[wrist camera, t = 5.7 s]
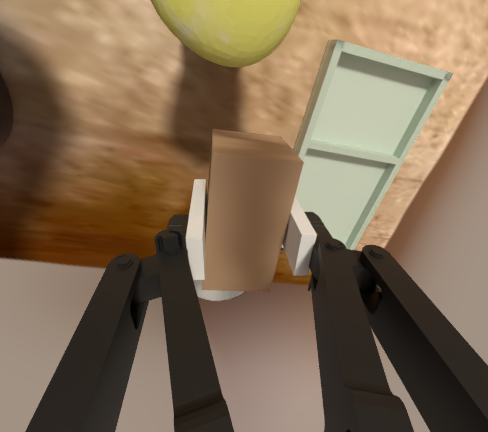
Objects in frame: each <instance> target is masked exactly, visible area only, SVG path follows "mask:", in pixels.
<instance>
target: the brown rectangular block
mask: <svg viewBox="0 0 488 432" xmlns="http://www.w3.org/2000/svg"><path fill="white" fill-rule="evenodd" d="M303 164H304V162H303V161H302V160H301V159H300V157H299V156H298V155H297V154H296V153H295V152H294V151H293V150H292V148H291V147H290V146H289V145H288V144H287V143H286V142H285V141H284V139H283V138H282V137H279V136H271V135H262V134H254V133H246V132H237V131H229V130H220V129H212V142H211V155H210V169H209V182H208V196H207V215H206V237H205V248H206V260H205V280H202V290H218V291H270V289H271V285H272V281H273V277H274V273H275V270H276V266H277V262H278V258H279V255H280V251H281V247H282V243H283V239H284V236H285V232H286V228H287V224H288V221H289V217H290V213H291V209H292V205H293V202H294V198H295V194H296V190H297V187H298V183H299V179H300V175H301V171H302V168H303Z"/></svg>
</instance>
